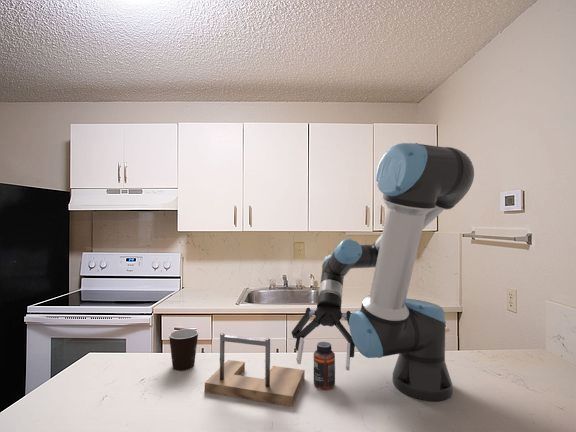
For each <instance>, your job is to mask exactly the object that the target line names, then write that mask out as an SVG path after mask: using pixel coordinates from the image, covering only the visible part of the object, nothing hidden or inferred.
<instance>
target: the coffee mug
mask: <svg viewBox="0 0 576 432" xmlns="http://www.w3.org/2000/svg"><path fill="white" fill-rule="evenodd" d="M168 336H169V337H168V338H169V345H170V346H169V347H170V355H171V363H172V369H173V370H174V371H177V372H183V371H188V370H191V369H192V368H193V367H195V361H196V354H197V353H196V352H197V346H198V337H199V331H198V330H197V329H194V328H181V329H178V330H174V331H172V332H170V333H169V335H168Z"/></svg>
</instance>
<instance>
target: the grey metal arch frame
mask: <svg viewBox="0 0 576 432" xmlns="http://www.w3.org/2000/svg"><path fill="white" fill-rule="evenodd" d="M225 342H226V343H237V344H245V345H252V346H261V347H265V352H264V353H265V359H264V360H265V361H264V363H265V365H264V366H265V367H264V371H265V372H264V375H265V377H264V378H265V386H266V387H269V386H270V370H271V338H265V339H264V338H263V339H262V338H253V337H244V336H237V335H227V334H225V333H220V334H219V368H220V380H224V363H225V346H226V345H225Z"/></svg>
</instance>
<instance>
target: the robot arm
mask: <svg viewBox="0 0 576 432" xmlns="http://www.w3.org/2000/svg"><path fill="white" fill-rule="evenodd" d="M376 169H377V170H376V176H375V177H376V178H375V180H376V182H377V184H376V186H377V187H378V190H379V191H380V192H381V193H382V201H383V202H384V204H385V205H386V207H387V208H386V213H385V218H384V224H383V228H382V233H381V234H380V236H378V237H377V239H376V240H375V241H374V242H373V243H372V244H360V243H359V242H358V241H356V240H353V239H351V238H346V239H345V238H344V239H343V240H341V242H340V243H339V244H338V245H337V246H336V247H335V249H334V251H333V253H332V254H329V255H326V256H325V257H324V259H323V262H322V266H321V276H320V284H319V289H318V297H317V303H316V309H315V310H314V309H311V308H310V307H307V308H306V309H305V313H304V315H303V316H301V318H300V320H299V321H298V322H297V323H296V325H295V326H294V328H293V329H292V331H291V336H292V338H293V339H296V341H295V345H294V346H295V347H294V348H295V350H296V351H297V356H296V363H297V364H298V365H301V364H302V358H303V352H304V345H305V341H304V339H305V338H306V337H307V336H308V335H309V334H310V333H311V332H313V331H314V330H315V329H316V328H318V327H320V325H321V326H322V327H326V326H327V327H331V328H332V327H333V326H335V327H336V329H338V331H339V333H341V335H342V336H343V338H344V339H345V340H346V341H347V345H346V357H345V369H346V371H348V372H349V371H350V365H351V358H354V357H355V347H356V350H357V351H358V352H359V353H360V354H361V355H362V356H364V357H365V358H368V359H375V358H378V359H380V358H383V357H389V356H394V355H398V356H397V359H396V362H395V364H394V367H393V371H392V384H393V385H394V386H395V388H396V389H398V391H400V392H402V393H403V394H404V395H407V396H409V397H412V398H415V399H418V400H422V401H431V402H436V401H437V402H438V401H439V402H441V401H444V400H447V399H449V398H451V397H452V395H453V382H452V379H451V375H450V372H449V370H448V367H447V364H446V316H445V311H444V309H443V307H441V305H438V304H437V303H433V302H430V301H425V300H421V299H416V298H414V299H413V298H407V295H408V291H409V287H410V285H411V284H410V283H411V279H412V275H413V271H414V266H415V261H416V258H417V254H418V249H419V246H420V241H421V237H422V232H423V230H424V229H425V228H426V227H427V226H429V225H430V224H431V223H432V222H433V221H434V220H435V219H436V218H437V217H438V216H439V215H441V213H442V212H444V211H445V210H446V211H447V210H448V211H449V210H451V209H453V208H455V207H456V205H457V204H459V203H460V202H461V201H462V200H463V199H464V197H465V196H467V194H468V192H469V191H470V190H471V187H472V185H473V183H474V178H475V168H474V165H473V161H471V159H470V157H469V156H468V155H467V154H466V153H465V152H464V151H462V150H460V149H458V148H455V147H450V146H438V145H429V144H423V143H418V142H415V143H413V142H411V143H410V142H409V143H408V142H407V143H406V142H402V143H398V144H395V145H393V146H392V147H390V148H389V149H388V150H387V151H386V152H385V153H384V154H383V156H382V157H381V158H380V161H379V162H378V165H377V168H376ZM366 268H375V269H374V271H373V272H374V273H373V277H372V283H371V288H370V293H369V294H368V295H366V296H365V297H364V298H363V299H362V302H361V307H360V310H359V309H357V310H355V311H353V312H352V313H351V311H350V310H347V311H346V312H342V298H343V288H344V278H345V277H346V275H347V274H348V273H349V272H350V270H351V269H366ZM313 316H315V317H314V318H313V320H312V321H311V322H309V320H310V318H312V317H313ZM341 319H344V320H345V321H347V325H348V326H349V327H348V328H349V331H348V330H347V329H346V327H345V326H344V325H343V324H342V322H341ZM308 322H309V323H308ZM307 323H308V324H307ZM306 324H307V325H306Z"/></svg>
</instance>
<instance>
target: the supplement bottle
mask: <svg viewBox="0 0 576 432" xmlns="http://www.w3.org/2000/svg"><path fill="white" fill-rule="evenodd" d="M313 385H314V387H315V388H317V389H318V390H320V391H321V390H323V391H328V390H329V391H330V390H332V389H334V388H335V385H336V354H335V353H334V351H333V350H332V344H331V343H330V342H328V341H319V342H318V343H317V344H316V350H315V351H314V352H313Z"/></svg>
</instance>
